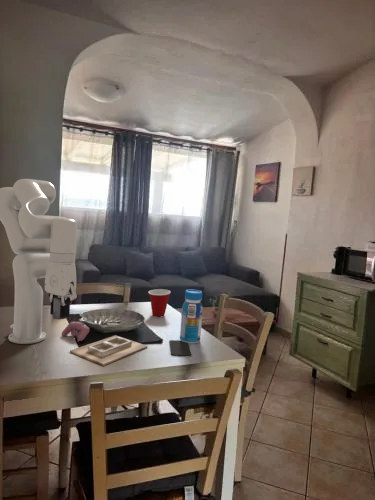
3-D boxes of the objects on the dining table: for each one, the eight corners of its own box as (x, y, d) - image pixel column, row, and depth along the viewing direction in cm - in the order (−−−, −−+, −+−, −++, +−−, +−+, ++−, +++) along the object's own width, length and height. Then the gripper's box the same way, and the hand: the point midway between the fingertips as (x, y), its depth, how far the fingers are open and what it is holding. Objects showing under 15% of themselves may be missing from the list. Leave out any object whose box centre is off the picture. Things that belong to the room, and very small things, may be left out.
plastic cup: (144, 312, 183) (146, 288, 181) (165, 312, 186) (167, 288, 185) (148, 318, 172) (150, 293, 171) (171, 318, 176) (173, 293, 174)
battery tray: (70, 352, 127) (70, 345, 127) (115, 336, 145) (115, 331, 145) (103, 365, 118) (103, 359, 118) (147, 347, 137) (147, 341, 136)
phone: (187, 340, 146) (192, 355, 131) (187, 342, 146) (191, 357, 132) (168, 340, 146) (171, 354, 131) (168, 342, 146) (170, 356, 131)
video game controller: (86, 344, 139) (93, 326, 141) (78, 341, 136) (85, 323, 138) (67, 338, 144) (74, 320, 146) (59, 335, 140) (66, 317, 142)
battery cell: (50, 317, 117) (51, 295, 116) (60, 314, 120) (61, 293, 119) (58, 320, 115) (59, 298, 114) (68, 317, 118) (70, 296, 117)
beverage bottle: (174, 339, 148) (178, 289, 146) (189, 335, 154) (193, 287, 152) (189, 345, 142) (194, 294, 140) (204, 341, 148) (209, 292, 146)
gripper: (35, 255, 117) (33, 311, 119) (70, 262, 108) (67, 324, 110) (55, 253, 123) (53, 307, 125) (90, 261, 114) (87, 319, 116)
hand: (59, 314), depth 117 cm, fingers closed on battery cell, 4 cm apart
